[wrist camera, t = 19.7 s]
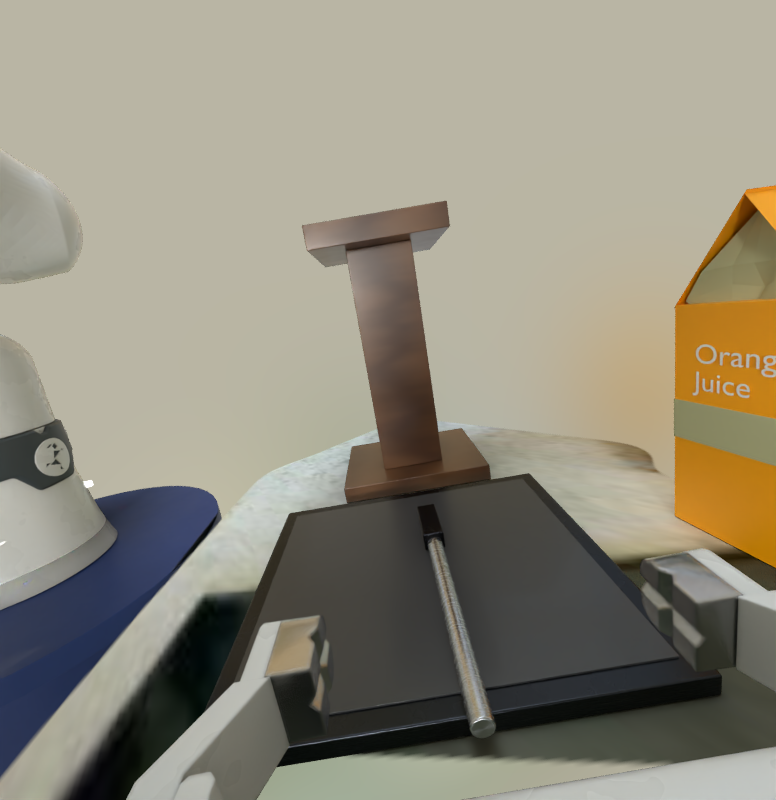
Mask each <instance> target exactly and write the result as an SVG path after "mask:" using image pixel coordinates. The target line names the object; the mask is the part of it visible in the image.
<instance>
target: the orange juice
mask: <svg viewBox="0 0 776 800" xmlns="http://www.w3.org/2000/svg"><path fill="white" fill-rule="evenodd" d="M675 313H676V314H675V315H676V316H675V317H676V318H675V399H674V436H675V516H676V517H678V518H680V519H682V520H684V521H686V522H688V523H690V524H692V525H694V526H695V527H697V528H699V529H701V530H703V531H705V532H707V533H709V534H711V535H713V536H715V537H717V538H719V539H721V540H723V541H725V542H726V543H728V544H730V545H732V546H734V547H736V548H738V549H740V550H742V551H744V552H746V553H748V554H750V555H752V556H754V557H755V558H757V559H759V560H761V561H763V562H765V563H767V564H769V565H771V566H773V567H775V568H776V186H769V187H762V188H754V189H747V190H746V192H745V193H744V195H743V196H742V198H741V200H740V201H739V203H738V205H737V206H736V208H735V210H734V211H733V213H732V215H731V216H730V218H729V220H728V221H727V223H726V224H725V226H724V227H723V229H722V231H721V233H720V234H719V236H718V237H717V239H716V241H715V242H714V244H713V246H712V247H711V249H710V251H709V252H708V254H707V255H706V257H705V259H704V260H703V262H702V264H701V265H700V267H699V268H698V270H697V272H696V273H695V275H694V277H693V278H692V280H691V281H690V283H689V285H688V286H687V288H686V290H685V291H684V293H683V294H682V296H681V298H680V299H679V301H678V303H677V304H676V306H675Z"/></svg>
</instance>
